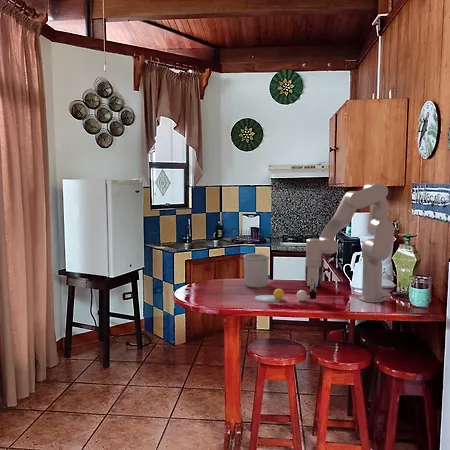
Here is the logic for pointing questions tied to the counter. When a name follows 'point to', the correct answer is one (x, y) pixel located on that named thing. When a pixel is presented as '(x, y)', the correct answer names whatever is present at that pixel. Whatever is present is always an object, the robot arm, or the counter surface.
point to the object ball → (278, 294)
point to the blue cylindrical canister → (318, 275)
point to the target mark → (266, 298)
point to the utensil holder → (256, 270)
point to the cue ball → (302, 295)
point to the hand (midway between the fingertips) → (313, 298)
